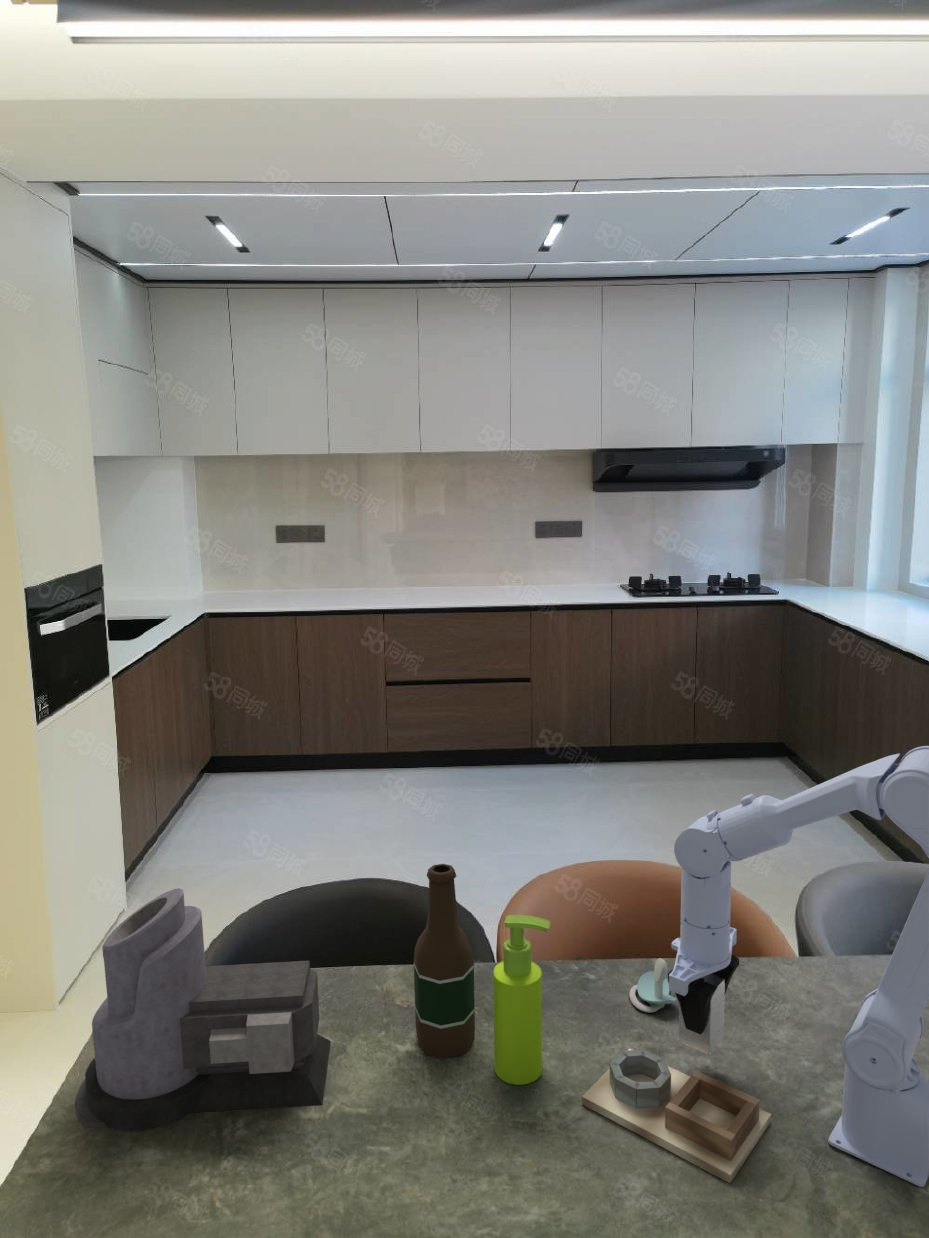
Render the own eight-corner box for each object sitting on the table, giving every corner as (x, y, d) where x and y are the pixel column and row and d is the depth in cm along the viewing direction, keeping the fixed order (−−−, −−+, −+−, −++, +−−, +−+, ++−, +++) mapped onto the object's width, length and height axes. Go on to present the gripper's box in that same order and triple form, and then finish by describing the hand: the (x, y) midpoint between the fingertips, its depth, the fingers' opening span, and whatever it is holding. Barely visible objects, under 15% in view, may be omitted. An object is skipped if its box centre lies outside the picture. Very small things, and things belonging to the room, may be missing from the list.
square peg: (723, 1038, 105) (725, 978, 104) (709, 1055, 102) (710, 993, 101) (693, 1026, 108) (694, 967, 106) (678, 1042, 105) (679, 981, 103)
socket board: (770, 1121, 96) (771, 1094, 96) (730, 1183, 88) (731, 1153, 87) (629, 1055, 108) (629, 1030, 107) (582, 1104, 100) (582, 1077, 99)
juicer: (53, 1137, 96) (31, 936, 92) (102, 1045, 112) (86, 870, 108) (321, 1119, 98) (311, 921, 94) (332, 1031, 114) (324, 858, 110)
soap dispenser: (547, 1088, 102) (547, 934, 99) (491, 1081, 104) (488, 928, 100) (552, 1056, 108) (552, 909, 105) (498, 1050, 109) (496, 904, 106)
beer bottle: (477, 1023, 115) (474, 855, 111) (472, 1062, 107) (469, 883, 103) (420, 1021, 116) (415, 854, 112) (411, 1059, 108) (405, 881, 104)
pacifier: (635, 1018, 116) (679, 1016, 116) (634, 976, 115) (678, 973, 115) (624, 987, 123) (666, 985, 123) (623, 947, 122) (665, 944, 122)
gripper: (700, 885, 110) (698, 981, 112) (645, 930, 99) (644, 1037, 101) (754, 901, 106) (750, 1001, 108) (702, 951, 95) (700, 1061, 97)
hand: (702, 1020), depth 104 cm, fingers closed on square peg, 4 cm apart
